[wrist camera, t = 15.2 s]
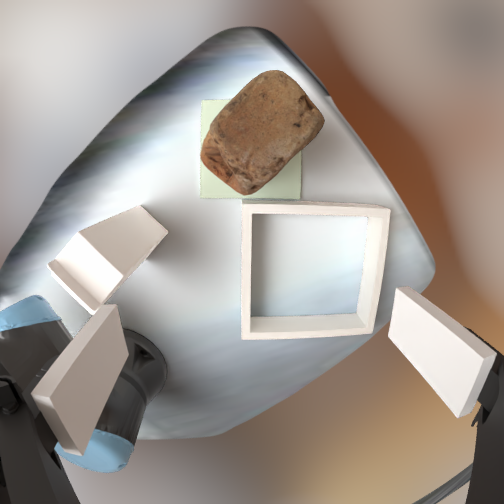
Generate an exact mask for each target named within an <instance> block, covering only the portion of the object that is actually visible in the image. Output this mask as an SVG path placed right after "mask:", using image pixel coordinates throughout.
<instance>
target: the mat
mask: <svg viewBox="0 0 504 504" xmlns="http://www.w3.org/2000/svg"><path fill="white" fill-rule="evenodd" d="M230 101H231V100H202V107H201V148H202V145H203V140H204V139H205V137H206V135H207V133H208V131H209V130H210V124H211V123H212V121H213V120H214V118H215V117H216V116H217V115H218V114H219V112H220V111H221V110H222V109H223V108H224V107H225V105H226V104H228V103H229V102H230ZM200 154H201V152H200ZM301 160H302V150H301V151H300V152H299V153H297V154H296V155H295V156H294V157H293V158H292V159H291V160H290V161H289V162H288V163H287V164H286V165H285V166H284V167H283V169H282V170H281V171H280V172H279V173H278V174H277V175H276V176H275V177H274V178H273V179H272V180H270V181H269V182H268V183H266V184H265V185H264V186H263V187H262V188H261V189H259V190H258V191H257V192H255V193H253V194H251V195H246V196H243V195H242V194H240V193H238V192H236V191H235V190H233V189H232V188H231V187H230V186H228V185H227V184H226V183H224V182H223V181H222V180H220V179H219V178H218V177H217V176H215V175H214V174H213V173H212V172H211V171H209V170H208V169H207V168H206V166H205V165H204V164H203V162H202V160H201V157H200V198H267V199H300V194H301Z"/></svg>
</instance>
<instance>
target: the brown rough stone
mask: <svg viewBox="0 0 504 504" xmlns="http://www.w3.org/2000/svg"><path fill="white" fill-rule="evenodd" d="M324 121H325V120H324V117H323V115H322V114H321V113H320V111H319V110H318V109H317V107H316V106H315V105H314V104H313V103H312V101H311V100H310V99H309V97H308V96H307V95H306V93H305V92H304V91H303V89H302V88H301V87H300V86H299V85H298V84H297V82H296V81H295V80H293V79H292V78H291V77H290V76H288V75H287V74H286V73H284V72H282V71H279V70H270V71H266V72H264V73H261V74H260V75H258V76H257V77H255V78H254V79H253V80H251V81H250V82H249V83H248V84H247V85H246V86H245V87H244V88H243V89H242V90H241V91H240V92H239V93H238V94H237V95H236V96H235V97H234V98H233V99H232V100H231V101H230V102H229V103H228V104H226V105H225V107H224V108H223V109H222V110H221V111H220V112H219V114H218V115H217V116H216V117H215V118H214V120H213V121H212V123H211V124H210V130H209V131H208V133H207V135H206V137H205V139H204V140H203V145H202V148H201V154H200V157H201V160H202V162H203V164H204V165H205V166H206V168H207V169H208V170H209V171H211V172H212V173H213V174H214V175H215V176H217V177H218V178H219V179H220V180H222V181H223V182H224V183H226V184H227V185H228V186H230V187H231V188H232V189H233V190H235V191H236V192H238V193H240V194H242V195H243V196H246V195H251V194H253V193H255V192H257V191H258V190H259V189H261V188H262V187H263V186H264V185H265V184H266V183H268V182H269V181H270V180H272V179H273V178H274V177H275V176H276V175H277V174H278V173H279V172H280V171H281V170H282V169H283V167H284V166H285V165H286V164H287V163H288V162H289V161H290V160H291V159H292V158H293V157H294V156H295V155H296V154H297V153H299V152H300V151H301V150H302V149H303V148H304V147H305V146H307V145H308V144H309V143H310V142H311V141H312V140H313V139H314V138H315V137H316V136H317V134H318V133H319V131H320V130H321V129H322V127H323V124H324Z"/></svg>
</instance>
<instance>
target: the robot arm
mask: <svg viewBox="0 0 504 504" xmlns="http://www.w3.org/2000/svg"><path fill="white" fill-rule="evenodd" d="M61 320H62V319H61V318H60V317H59V316H57V314H56V313H55V312H54V310H53V309H52V307H51V306H50V305H49V303H48V302H47V300H46V299H45V298H43V297H42V296H39V295H33V296H30V297H27V298H25V299H23V300H21V301H19V302H17V303H15V304H13V305H11V306H9V307H8V308H6V309H4V310H2V311H0V504H80V502H79V500H78V498H77V496H76V494H75V492H74V490H73V488H72V486H71V484H70V481H69V479H68V477H67V475H66V473H65V470H64V468H63V465H62V463H61V460H60V458H59V456H58V454H59V455H60V456H62V457H63V458H65V459H66V460H68V461H70V462H71V463H73V464H76V465H78V466H80V467H83V468H85V469H89V470H92V471H96V472H103V473H112V472H117V471H120V470H122V469H123V468H124V467H125V466H126V465H127V463H128V460H129V458H130V455H131V453H132V452H133V451H134V445H135V442H136V438H137V435H138V432H139V428H140V425H141V422H142V418H143V415H144V412H145V408H146V406H147V405H148V404H149V403H150V402H151V401H152V399H153V398H154V397H155V396H156V395H157V394H158V393H159V392H160V391H161V390H162V388H163V386H164V383H165V380H166V376H167V366H166V363H165V360H164V358H163V356H162V354H161V353H160V351H159V350H158V349H157V347H156V346H155V345H154V344H153V343H152V342H150V341H149V340H148V339H146V338H145V337H143V336H142V335H140V334H138V333H136V332H133V331H130V330H126V329H122V325H121V321H120V316H119V312H118V307H117V304H102V305H101V307H100V308H99V309H98V310H97V311H96V312H95V314H94V315H93V316H92V317H91V318H90V319H89V321H88V322H87V323H86V324H85V325H84V326H83V328H82V329H81V330H80V331H79V332H78V334H77V335H76V336H75V337H74V338H73V337H72V336H71V334H70V333H69V332H68V330H67V329H66V327H65V326H64V324H63V323H62V321H61ZM388 337H389V338H390V339H391V340H392V341H393V343H394V344H395V345H396V346H397V347H398V348H399V350H400V351H401V352H402V353H403V354H404V355H405V356H406V357H407V359H408V360H409V361H410V362H411V363H412V364H413V366H414V367H415V368H416V369H417V370H418V371H419V372H420V374H421V375H422V376H423V377H424V379H425V380H426V381H427V382H428V383H429V384H430V386H431V387H432V388H433V389H434V390H435V392H436V393H437V394H438V395H439V396H440V398H441V399H442V400H443V401H444V402H445V404H446V405H447V406H448V407H449V408H450V409H451V411H452V412H453V413H454V415H455V416H456V417H457V418H460V417H462V416H464V415H466V414H468V413H471V412H472V410H473V408H474V406H475V404H476V401H477V400H478V401H479V402H480V403H481V407H480V409H479V411H478V413H477V415H476V417H475V419H474V420H473V422H472V425H471V426H474V424H475V423H476V422H477V421H478V425H477V437H476V446H475V454H474V461H473V468H472V474H471V480H470V485H469V490H468V495H467V499H466V503H465V504H504V356H503V355H502V354H501V353H500V352H499V351H497V350H496V349H495V348H494V347H492V346H491V345H490V344H489V343H487V342H486V341H484V340H483V339H482V338H481V337H478V335H477V334H475V333H474V332H473V331H472V330H471V329H468V328H466V327H464V326H462V325H461V324H459V323H458V322H457V321H455V320H454V319H453V318H451V317H450V316H449V315H447V314H446V313H445V312H443V311H442V310H441V309H439V308H438V307H437V306H435V305H434V304H432V303H431V302H430V301H428V300H427V299H426V298H424V297H423V296H421V295H420V294H419V293H417V292H416V291H415V290H413V289H412V288H410V287H409V286H406V287H398V288H396V291H395V299H394V305H393V312H392V318H391V323H390V329H389V334H388ZM57 453H58V454H57Z"/></svg>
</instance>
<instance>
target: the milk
mask: <svg viewBox="0 0 504 504" xmlns="http://www.w3.org/2000/svg"><path fill="white" fill-rule="evenodd" d="M167 234H168V231H167V230H166V229H165V228H164V227H163V226H162V225H161V224H160V223H159V222H158V221H157V220H155V219H154V218H153V217H152V216H151V215H150V214H149V213H148V212H147V211H146V210H145V209H144V208H143V207H142V206H140V205H139V206H137V207H134V208H132V209H129V210H127V211H125V212H122V213H120V214H118V215H115V216H113V217H110V218H108V219H106V220H104V221H101V222H99V223H97V224H94V225H92V226H90V227H88V228H86V229H83V230H81V231H79V232H77V234H76V235H75V236H74V237H73V238H72V239H71V240H70V242H69V243H68V244H67V245H66V246H65V248H64V249H63V250H62V251H61V252H60V254H59V255H58V256H57V257H56V259H55V260H53V261H51V262H50V263H48V265H47V266H48V268H49V269H50V271H51V272H52V276H53V277H54V278H55V279H56V281H57V282H58V283H59V284H60V285H61V286H62V287H63V288H64V289H65V290H66V291H67V292H68V293H69V294H71V295H72V296H73V297H74V298H75V299H76V300H77V301H78V302H79V303H80V304H81V305H82V306H83V307H84V308H85V309H86V310H87V311H89V312H90V313H91V314H92V315H94V314H95V312H96V311H97V310H98V309H99V308H100V307H101V305H102V304H105V303H106V302H107V300H108V299H109V298H110V297H111V296H112V295H113V294H114V293H115V292H116V290H117V289H118V288H119V287H120V286H121V285H122V284H123V283H124V282H125V281H126V280H127V279H128V277H129V276H130V275H131V274H132V273H133V272H134V271H135V270H136V269H137V268H138V267H139V266H140V265H141V264H142V263H143V262H144V261H145V259H146V258H147V257H148V256H149V255H150V253H151V252H152V251H153V250H154V249H155V248H156V246H157V245H158V244H159V243H160V242H161V241H162V239H163V238H164V237H165V236H166V235H167Z"/></svg>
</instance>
